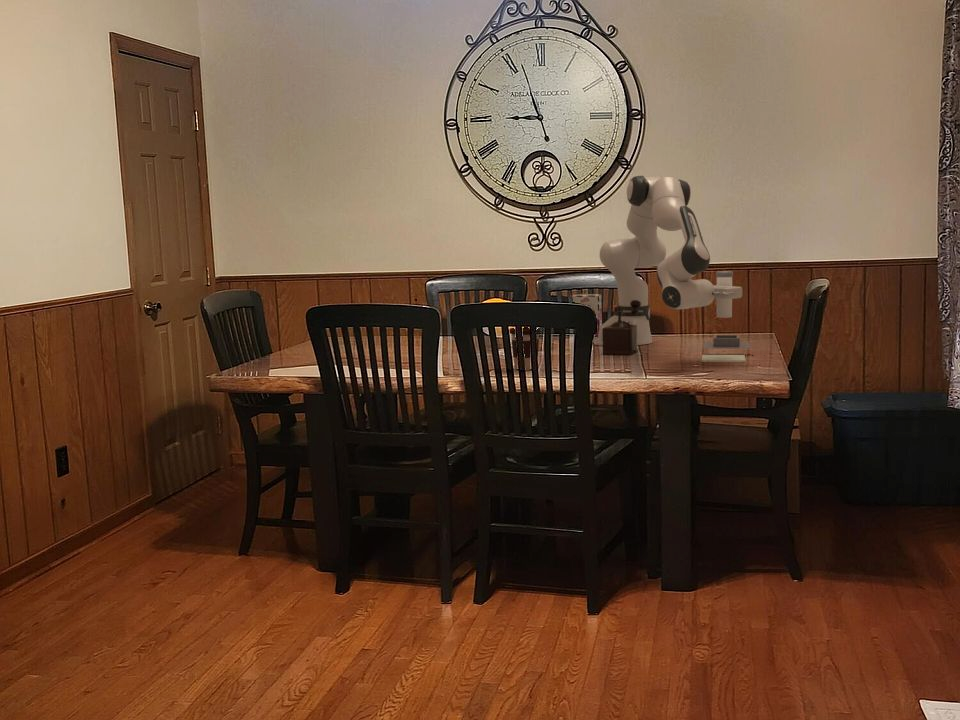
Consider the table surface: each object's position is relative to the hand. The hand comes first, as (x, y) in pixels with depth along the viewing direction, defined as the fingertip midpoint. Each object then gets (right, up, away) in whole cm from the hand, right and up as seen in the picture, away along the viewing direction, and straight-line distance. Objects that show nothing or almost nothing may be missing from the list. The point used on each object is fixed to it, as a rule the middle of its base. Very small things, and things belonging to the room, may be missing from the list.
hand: (725, 289), depth 348 cm
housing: (+6, -19, +27) cm, 33 cm away
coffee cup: (-67, -27, -5) cm, 72 cm away
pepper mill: (-31, -21, +25) cm, 45 cm away
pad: (0, -23, +3) cm, 23 cm away
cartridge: (0, -9, +1) cm, 9 cm away
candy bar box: (-39, -14, +70) cm, 81 cm away
